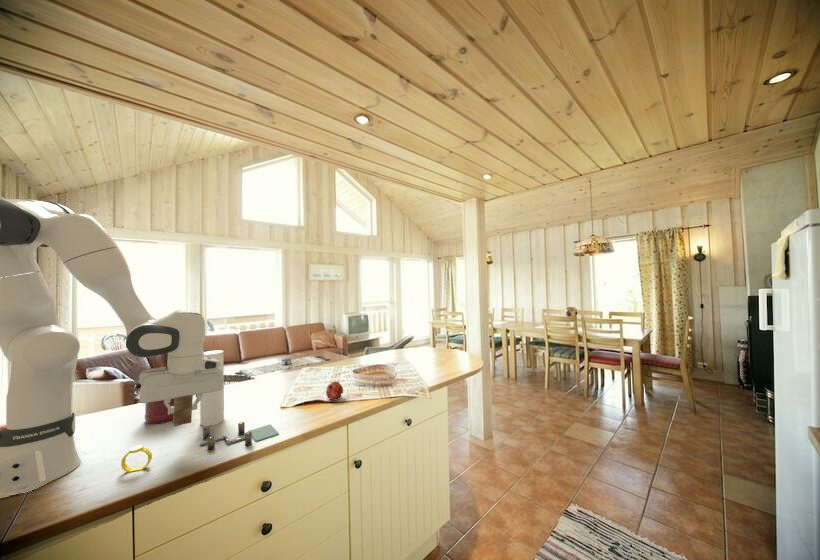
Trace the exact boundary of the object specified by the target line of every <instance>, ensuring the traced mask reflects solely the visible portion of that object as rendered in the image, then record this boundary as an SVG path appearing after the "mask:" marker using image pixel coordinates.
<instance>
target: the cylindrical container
mask: <svg viewBox="0 0 820 560" xmlns="http://www.w3.org/2000/svg"><path fill="white" fill-rule="evenodd" d="M204 357H208V358H214V359H217V360H219V361H220V367H219V368H220V369H221V370H222V372H223V378H224V377H225V375H224V374H225V373H224V371H225V369H224V365H225V364H224V362H225V361H224V360H225V359H224V350H219V349H217V350H208V351H204ZM224 379H225V378H224ZM224 387H225V386H224ZM224 387H223V388H222V390H221V391H216V392H210V393H204V394H202V398H201V400H200V401H199V402H200V404H199V405H200V409H199V411H200V412H199V413H200V414H199V415H200V421H199V422H200V426H202V425H203V426H202V427H205V426H210V425H211V426H215V425H218V424H220V423H222V422H223V421H224V420H225V406H224V404H225V398H224V397H225V396H224V395H225V394H224V393H225V388H224Z"/></svg>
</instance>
